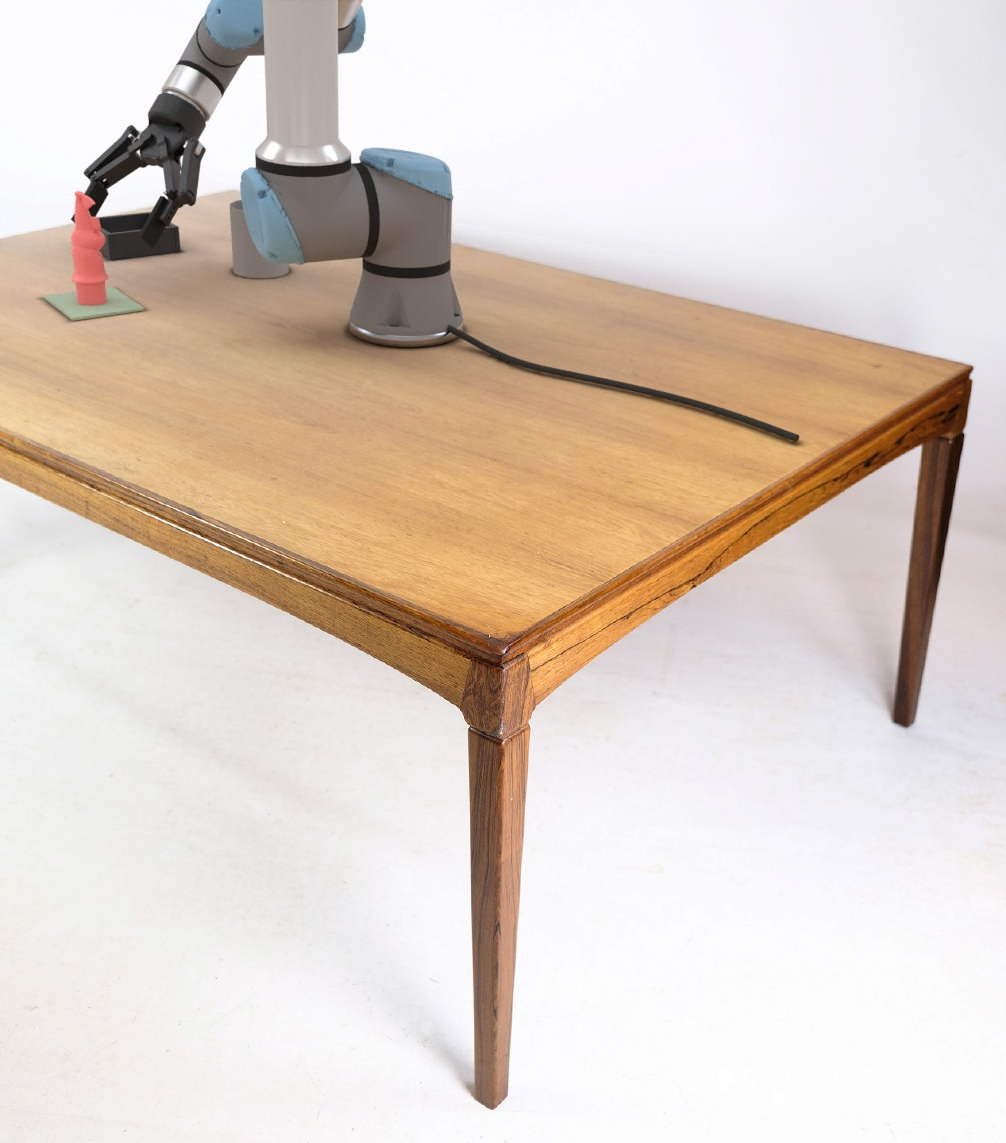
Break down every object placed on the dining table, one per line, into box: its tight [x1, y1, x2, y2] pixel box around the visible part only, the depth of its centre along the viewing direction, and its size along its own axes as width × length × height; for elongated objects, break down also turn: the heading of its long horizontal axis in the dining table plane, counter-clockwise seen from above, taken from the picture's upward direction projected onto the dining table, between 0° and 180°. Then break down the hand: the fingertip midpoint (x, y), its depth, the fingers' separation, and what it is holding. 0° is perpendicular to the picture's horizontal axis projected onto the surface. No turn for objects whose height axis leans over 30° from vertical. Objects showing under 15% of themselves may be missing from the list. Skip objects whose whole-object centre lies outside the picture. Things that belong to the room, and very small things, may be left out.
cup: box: [229, 199, 290, 279], centre depth 196 cm, size 8×8×10 cm
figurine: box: [70, 190, 109, 305], centre depth 176 cm, size 5×5×15 cm
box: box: [97, 211, 181, 261], centre depth 206 cm, size 12×12×4 cm
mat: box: [42, 286, 145, 322], centre depth 180 cm, size 12×10×1 cm
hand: (111, 234), depth 179 cm, fingers open, 13 cm apart
